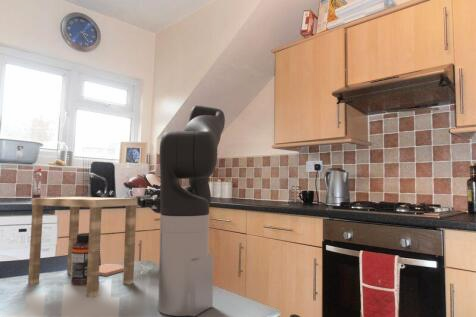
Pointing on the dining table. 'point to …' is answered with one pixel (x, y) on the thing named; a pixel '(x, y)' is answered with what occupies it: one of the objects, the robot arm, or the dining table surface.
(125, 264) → the small wooden table
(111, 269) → the coaster
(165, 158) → the robot arm
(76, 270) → the supplement bottle
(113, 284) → the dining table surface
